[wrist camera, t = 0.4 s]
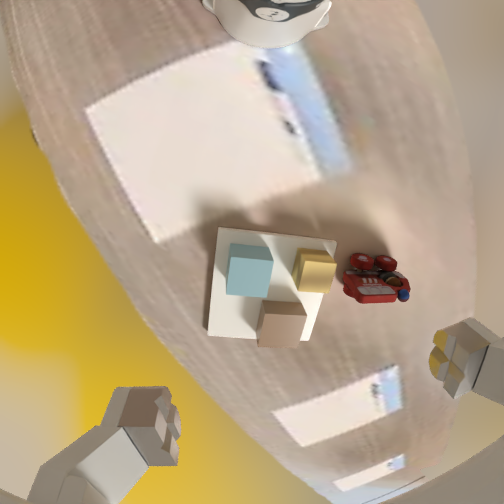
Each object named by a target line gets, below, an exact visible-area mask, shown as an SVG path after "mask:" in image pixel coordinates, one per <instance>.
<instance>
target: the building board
mask: <svg viewBox="0 0 504 504" xmlns="http://www.w3.org/2000/svg"><path fill="white" fill-rule="evenodd" d="M230 243H232V244H242V245H251V246H261V247H269V249H270V252H271V254H272V257H273V260H274V264H273V269H272V274H271V279H270V284H269V289H268V294H267V298H262V297H250V296H238V295H226V271H227V263H228V255H229V247H230ZM336 246H337V242H336V241H335V240H327V239H319V238H311V237H303V236H295V235H286V234H278V233H269V232H261V231H252V230H243V229H234V228H225V227H218V235H217V244H216V252H215V262H214V271H213V281H212V291H211V301H210V312H209V323H208V335H209V336H221V337H234V338H250V339H257V344H258V347H273V348H298V345H299V342H300V341H309V338H310V335H311V332H312V329H313V326H314V323H315V319H316V316H317V313H318V310H319V306H320V303H321V300H322V296H323V293H315V292H300V291H298V290H297V288H296V286H295V283H294V281H293V279H292V277H291V274H292V270H293V265H294V261H295V256H296V252H297V247H298V248H307V249H316V250H324V251H327V252H328V253H329V254H330V256H331V257H332V258H334V254H335V250H336Z"/></svg>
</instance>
